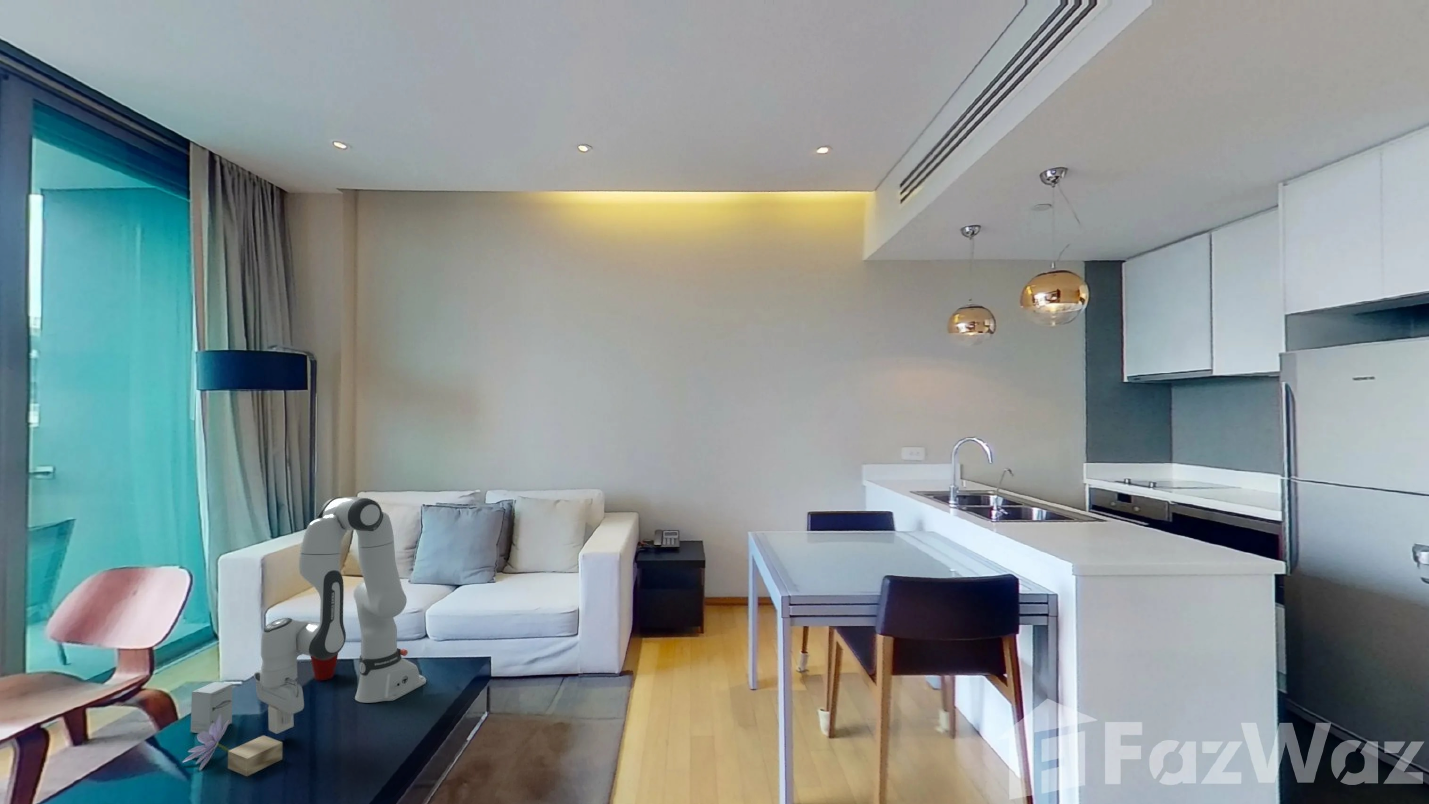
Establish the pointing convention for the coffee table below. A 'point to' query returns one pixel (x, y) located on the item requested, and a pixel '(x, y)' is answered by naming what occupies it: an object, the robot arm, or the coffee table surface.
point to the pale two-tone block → (277, 720)
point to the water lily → (208, 742)
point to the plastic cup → (324, 667)
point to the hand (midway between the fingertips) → (281, 720)
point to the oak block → (254, 755)
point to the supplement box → (211, 706)
